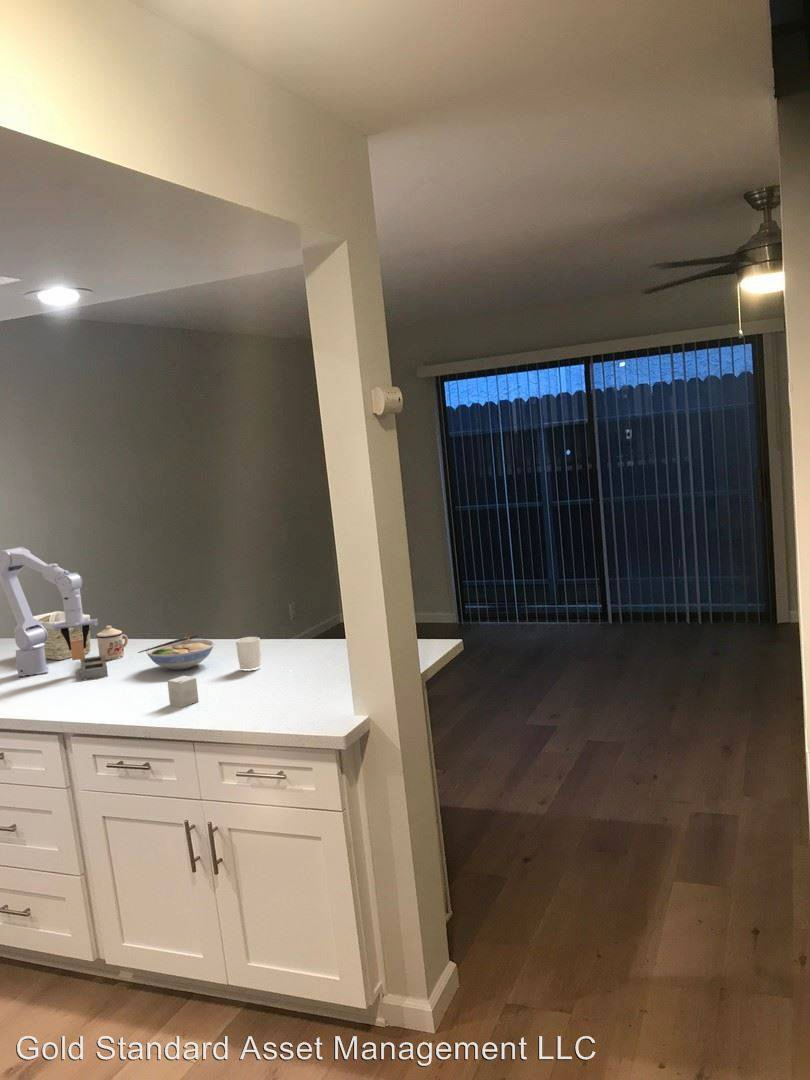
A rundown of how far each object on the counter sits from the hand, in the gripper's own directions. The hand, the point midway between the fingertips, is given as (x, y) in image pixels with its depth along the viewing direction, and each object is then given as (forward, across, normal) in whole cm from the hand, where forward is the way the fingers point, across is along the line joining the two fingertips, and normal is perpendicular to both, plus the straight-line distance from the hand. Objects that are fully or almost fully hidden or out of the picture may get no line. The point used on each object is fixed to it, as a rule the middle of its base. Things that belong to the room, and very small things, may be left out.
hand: (77, 648), depth 308 cm
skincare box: (+9, +28, -58) cm, 65 cm away
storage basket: (+9, -8, +39) cm, 41 cm away
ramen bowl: (+9, +33, -13) cm, 36 cm away
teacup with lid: (+9, +12, +21) cm, 26 cm away
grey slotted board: (+9, +4, +1) cm, 10 cm away
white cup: (+9, +53, -29) cm, 61 cm away
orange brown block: (+3, 0, 0) cm, 3 cm away
